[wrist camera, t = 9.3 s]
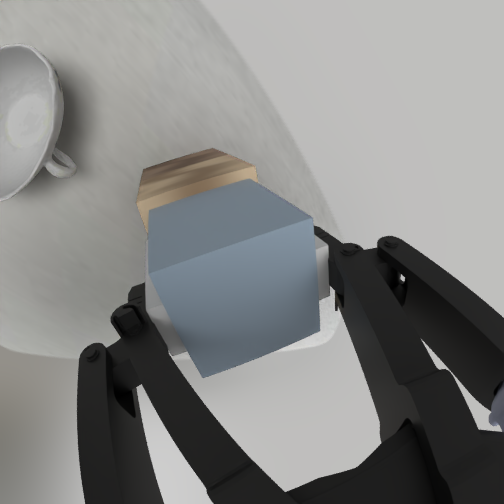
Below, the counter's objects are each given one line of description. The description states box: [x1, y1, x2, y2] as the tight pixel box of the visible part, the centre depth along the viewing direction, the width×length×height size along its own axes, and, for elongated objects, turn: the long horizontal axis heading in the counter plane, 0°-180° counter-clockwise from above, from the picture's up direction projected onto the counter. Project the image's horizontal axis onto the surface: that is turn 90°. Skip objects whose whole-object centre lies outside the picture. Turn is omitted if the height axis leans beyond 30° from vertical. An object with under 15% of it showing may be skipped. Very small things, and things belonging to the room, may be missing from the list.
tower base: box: [141, 148, 228, 181], centre depth 24 cm, size 7×7×6 cm
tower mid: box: [136, 155, 258, 234], centre depth 19 cm, size 7×7×6 cm
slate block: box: [148, 178, 320, 378], centre depth 14 cm, size 6×6×7 cm
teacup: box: [0, 44, 77, 202], centre depth 14 cm, size 15×12×8 cm
